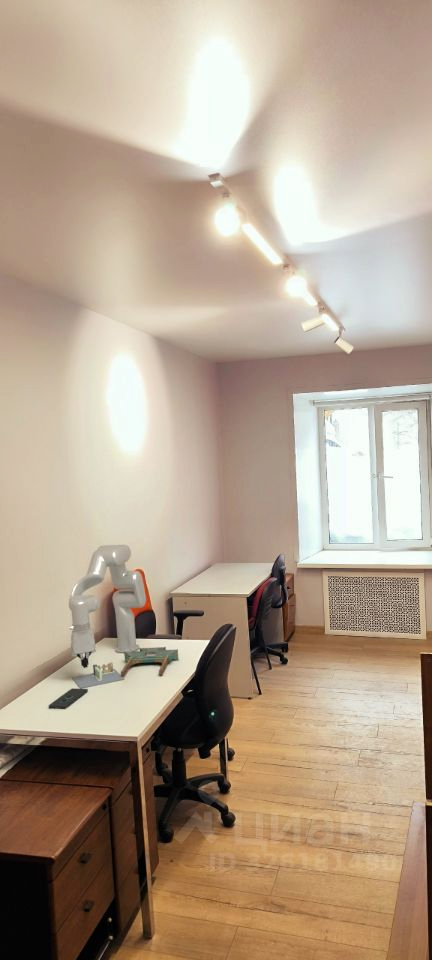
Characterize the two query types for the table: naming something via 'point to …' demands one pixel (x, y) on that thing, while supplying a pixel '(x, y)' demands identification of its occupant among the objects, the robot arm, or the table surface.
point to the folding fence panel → (98, 673)
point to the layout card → (97, 679)
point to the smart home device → (68, 698)
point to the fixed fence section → (110, 668)
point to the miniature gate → (149, 657)
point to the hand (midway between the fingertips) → (85, 666)
